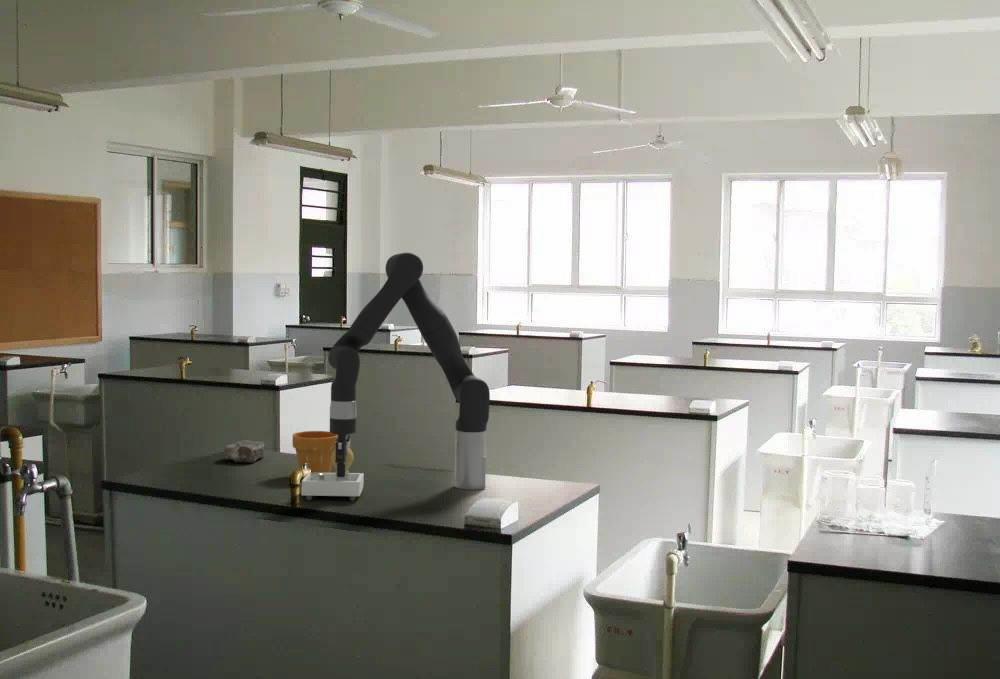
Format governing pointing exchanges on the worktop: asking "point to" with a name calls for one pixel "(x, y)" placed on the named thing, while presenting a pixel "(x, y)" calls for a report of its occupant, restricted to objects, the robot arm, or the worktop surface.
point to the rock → (244, 451)
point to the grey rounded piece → (317, 476)
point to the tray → (333, 486)
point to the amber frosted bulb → (348, 463)
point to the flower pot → (315, 449)
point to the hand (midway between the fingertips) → (342, 474)
